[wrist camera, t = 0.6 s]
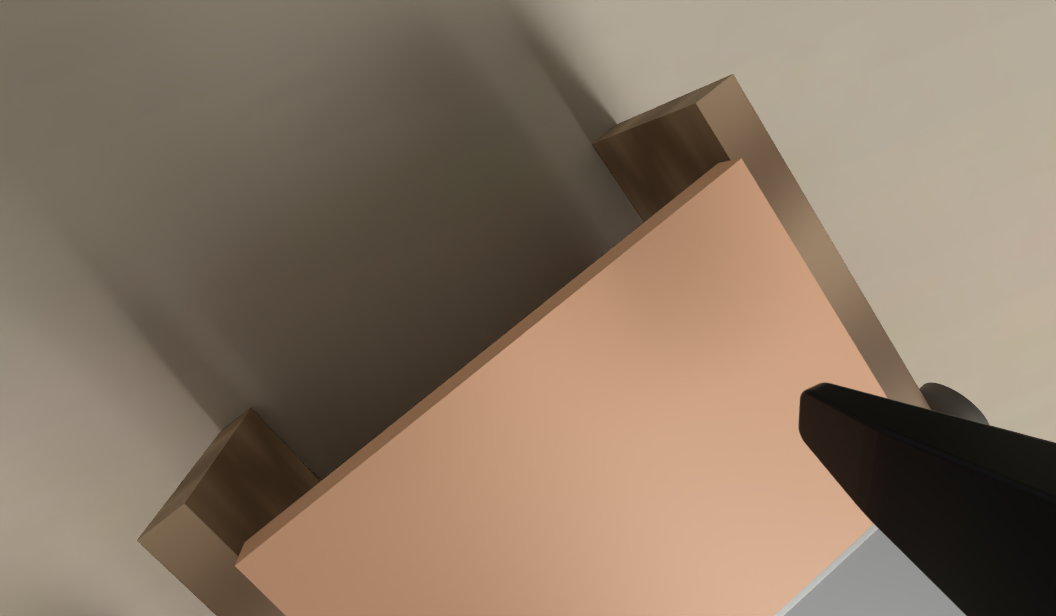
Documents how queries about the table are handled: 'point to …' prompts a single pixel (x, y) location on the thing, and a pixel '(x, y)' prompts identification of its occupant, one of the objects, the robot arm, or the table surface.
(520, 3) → the table surface
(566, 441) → the trapdoor
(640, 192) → the trapdoor frame
